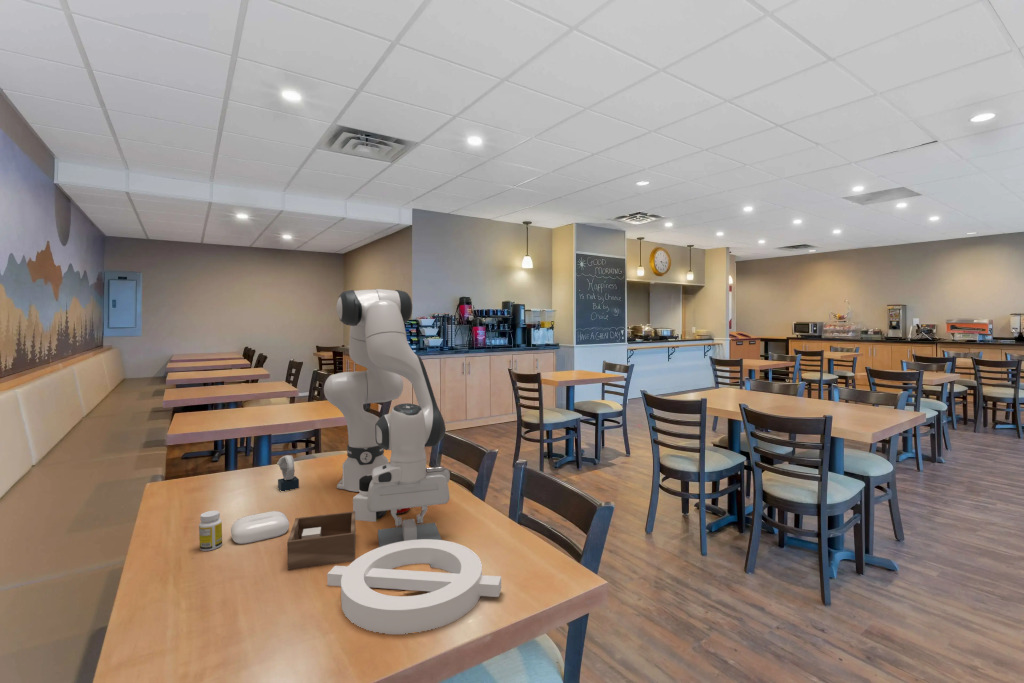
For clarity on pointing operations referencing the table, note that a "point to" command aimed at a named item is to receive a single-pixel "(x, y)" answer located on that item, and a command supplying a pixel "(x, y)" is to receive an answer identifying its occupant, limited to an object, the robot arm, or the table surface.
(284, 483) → the bust statue
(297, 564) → the walnut box
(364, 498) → the medicine bottle
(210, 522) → the supplement bottle
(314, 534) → the ivory block
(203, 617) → the table surface
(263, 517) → the earbud case
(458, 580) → the ring with crossbar
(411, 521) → the lid
